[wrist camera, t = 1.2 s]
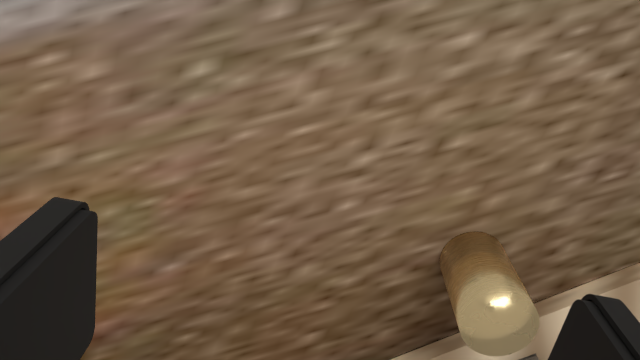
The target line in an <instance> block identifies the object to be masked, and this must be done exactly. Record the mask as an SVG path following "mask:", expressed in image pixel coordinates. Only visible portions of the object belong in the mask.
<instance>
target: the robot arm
mask: <svg viewBox="0 0 640 360" xmlns="http://www.w3.org/2000/svg"><path fill="white" fill-rule="evenodd" d="M97 223H98V220H97V214H96V213H95V212H93V211H89V207H88V204H87V203H85V202H80V201H74V200H69V199H63V198H58V197H54V198H52V199H51V200H50V201H48V202H47V203H46V204H45V205H44V206H42V207H41V208H40V209H39V210H37V211H36V212H35V213H34V214H33V215H31V216H30V217H29V218H28V219H27V220H25V221H24V222H23V223H22V224H20V225H19V226H18V227H17V228H16V229H14V230H13V231H12V232H11V233H10V234H8V235H7V236H6V237H5V238H4V239H2V240H1V241H0V360H80V358H81V357H82V355H83V354H84V352H85V351H86V349H87V348H88V346H89V344H90V342H91V340H92V337H93V334H94V329H95V302H96V262H97ZM548 360H640V322H639V321H638V320H637V319H636V317H635V316H634V315H633V314H632V313H631V311H630V310H629V309H628V308H627V306H626V305H625V304H624V303H623V302H622V301H621V300H620V299H616V298H610V297H605V296H599V295H594V294H587V295H585V296H584V297H583V298H582V299H581V300H580V299H578V300H575V301H574V302H573V304H572V306H571V308H570V310H569V312H568V315H567V317H566V319H565V321H564V324H563V326H562V328H561V331H560V333H559V335H558V337H557V340H556V342H555V344H554V346H553V349H552V351H551V353H550V356H549V358H548Z"/></svg>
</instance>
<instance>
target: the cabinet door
mask: <svg viewBox="0 0 640 360" xmlns="http://www.w3.org/2000/svg"><path fill="white" fill-rule="evenodd" d="M587 294H594V295H599V296H605V297H610V298H616V299H620V300H621V301H622V302H623V303H624V304H625V305H626V306H627V308H628V309H629V310H630V311H631V313H632V314H633V315H634V316H635V317H636V319H637V320H638V321H639V322H640V263H638V264H635V265H632V266H630V267H627V268H625V269H622V270H619V271H617V272H614V273H612V274H609V275H607V276H604V277H601V278H599V279H596V280H594V281H591V282H589V283H586V284H583V285H581V286H578V287H576V288H573V289H570V290H568V291H565V292H563V293H560V294H558V295H555V296H552V297H550V298H547V299H545V300H542V301H540V302H537V303H534V306H535V308H536V309H537V311H538V314H539V328H538V332H537V334H536V336H535V337H534V339H533V340H532V341H531V342H530V343H529V344H528V345H527V346H526V347H524V348H523V349H521V350H519V351H518V352H515V353H513V354H509V355H505V356H487V355H483V354H480V353H477V352H475V351H474V350H472V349H471V348H469V347H468V346H467V345H466V343H465V342H464V341H463V339H462V337H461V334H460V333H457V334H454V335H452V336H449V337H447V338H444V339H442V340H439V341H436V342H434V343H431V344H429V345H426V346H424V347H421V348H418V349H416V350H413V351H411V352H408V353H406V354H403V355H400V356H398V357H395V358H393V359H390V360H548V358H549V356H550V353H551V351H552V349H553V346H554V344H555V342H556V340H557V337H558V335H559V333H560V331H561V328H562V326H563V324H564V321H565V319H566V317H567V315H568V312H569V310H570V308H571V306H572V304H573V302H574V301H575V300H578V299H580V300H581V299H582V298H583V297H584V296H585V295H587Z"/></svg>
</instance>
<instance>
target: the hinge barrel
mask: <svg viewBox="0 0 640 360" xmlns="http://www.w3.org/2000/svg"><path fill="white" fill-rule="evenodd" d="M440 268H441V272H442V275H443V278H444V281H445V285H446V288H447V291H448V295H449V298H450V301H451V304H452V308H453V311H454V314H455V318H456V321H457V324H458V327H459V331H460V334H461V337H462V339H463V341H464V342H465V343H466V345H467V346H468V347H469V348H471V349H472V350H474V351H475V352H477V353H480V354H483V355H487V356H505V355H509V354H513V353H515V352H518V351H519V350H521V349H523V348H524V347H526V346H527V345H528V344H529V343H530V342H531V341H532V340H533V339H534V337H535V336H536V334H537V332H538V328H539V314H538V311H537V309H536V308H535V306H534V304H533V302H532V300H531V298H530V297H529V295H528V293H527V291H526V289H525V287H524V285H523V284H522V282H521V280H520V278H519V276H518V274H517V272H516V271H515V269H514V267H513V265H512V263H511V261H510V260H509V258H508V256H507V254H506V252H505V250H504V248H503V247H502V245H501V243H500V242H499V241H498V240H497V239H496V238H494V237H493V236H491V235H489V234H487V233H483V232H467V233H463V234H460V235H458V236H456V237H455V238H453V239H452V240H450V241H449V242H448V243H447V244H446V246H445V247H444V248H443V250H442V253H441V256H440Z"/></svg>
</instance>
